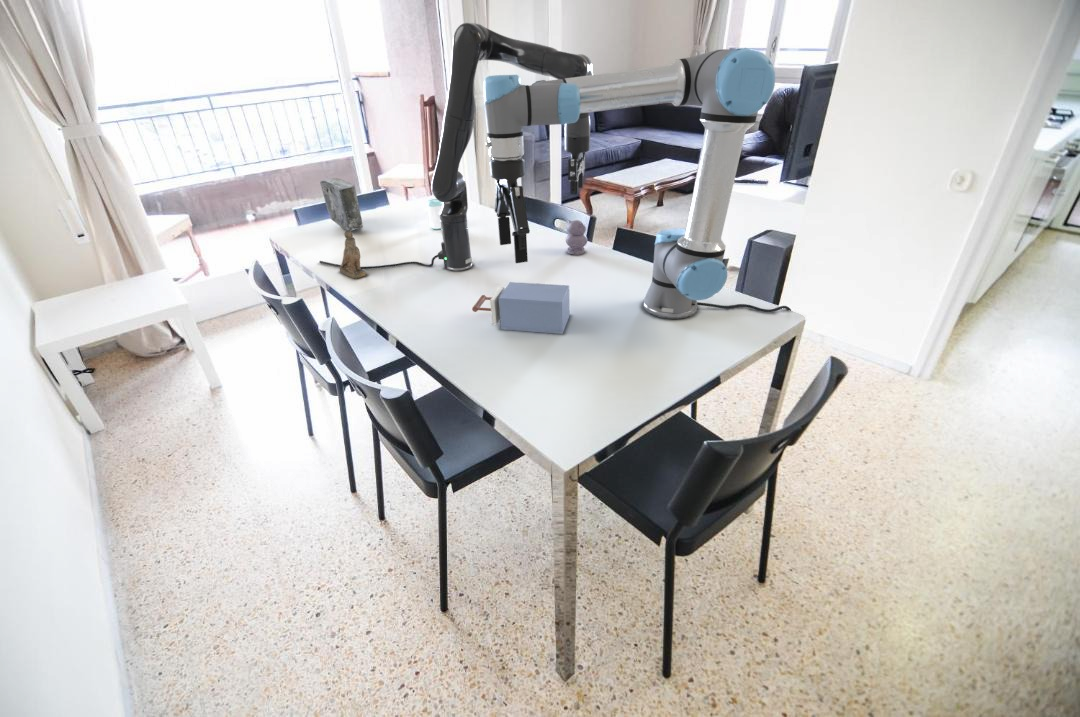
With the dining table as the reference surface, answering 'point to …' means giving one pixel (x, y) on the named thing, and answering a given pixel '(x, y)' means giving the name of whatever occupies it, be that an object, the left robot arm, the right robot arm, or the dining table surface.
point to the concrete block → (342, 203)
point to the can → (434, 213)
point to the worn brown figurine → (351, 258)
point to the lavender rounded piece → (576, 237)
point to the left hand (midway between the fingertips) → (576, 190)
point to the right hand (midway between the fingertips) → (513, 252)
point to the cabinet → (534, 307)
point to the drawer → (494, 305)
